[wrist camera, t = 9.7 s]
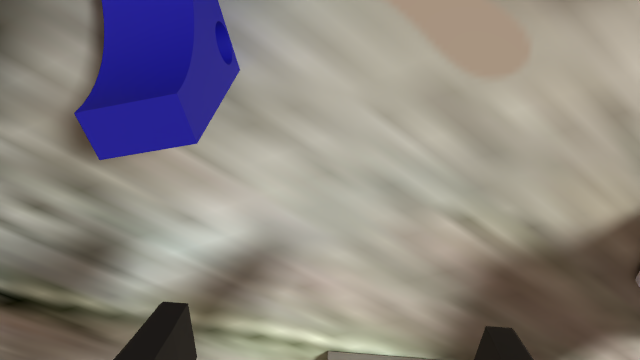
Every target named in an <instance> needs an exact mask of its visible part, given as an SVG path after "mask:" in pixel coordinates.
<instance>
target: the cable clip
mask: <svg viewBox="0 0 640 360" xmlns="http://www.w3.org/2000/svg"><path fill="white" fill-rule="evenodd" d="M102 5H103V15H104V50H103V57H102V63H101V67H100V71H99V74H98V77H97V80H96V83H95V85H94V87H93V89H92V91H91V93H90V95H89V96H88V98H87V99H86V100H85V102H84V103H83V104H82V106H81V107H80V108H79V109H78V110H77V111H76V112H75V113H74V114H75V116H76V118H77V119H78V121H79V123H80V125H81V127H82V129H83V130H84V132H85V134H86V136H87V138H88V140H89V142H90V143H91V145H92V147H93V149H94V151H95V153H96V154H97V156H98V158H99V160H103V159H109V158H115V157H121V156H127V155H133V154H138V153H144V152H150V151H156V150H162V149H168V148H174V147H179V146H185V145H191V144H197V143H198V141H199V139H200V138H201V136H202V134H203V132H204V131H205V129H206V127H207V126H208V124H209V122H210V120H211V119H212V117H213V115H214V114H215V112H216V110H217V108H218V107H219V105H220V103H221V102H222V100H223V98H224V96H225V95H226V93H227V91H228V90H229V88H230V86H231V84H232V83H233V81H234V79H235V78H236V76H237V74H238V72H239V71H240V69H239V66H238V62H237V59H236V56H235V53H234V50H233V47H232V44H231V40H230V37H229V34H228V31H227V28H226V25H225V22H224V19H223V15H222V12H221V9H220V6H219V3H218V0H102Z"/></svg>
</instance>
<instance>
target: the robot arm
mask: <svg viewBox="0 0 640 360" xmlns="http://www.w3.org/2000/svg"><path fill="white" fill-rule="evenodd" d="M636 283H637V284H638V286H639V287H640V271H639V273H638V275H637V277H636ZM196 358H197V354H196V348H195V342H194V336H193V331H192V325H191V319H190V313H189V307H188V304H186V303H173V302H162V303H161V304H160V305H159V306H158V307H157V308H156V310H155V311H154V312H153V313H152V315H151V316H150V317H149V318H148V319H147V321H146V322H145V323H144V324H143V326H142V327H141V328H140V329H139V330H138V332H137V333H136V334H135V335H134V336H133V338H132V339H131V340H130V341H129V342H128V343H127V345H126V346H125V347H124V348H123V349H122V350H121V352H120V353H119V354H118V355H117V356H116V357H115V358H114V359H113V360H196ZM474 360H534V359H533V358H532V356H531V355H530V354H529V352H528V351H527V349H526V348H525V346H524V345H523V343H522V342H521V340H520V339H519V337H518V336H517V334H516V333H515V331H514V330H513V329H512V328H502V327H489V326H486V327H485V330H484V333H483V336H482V339H481V342H480V344H479V347H478V350H477V353H476V356H475V359H474Z"/></svg>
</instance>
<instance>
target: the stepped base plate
mask: <svg viewBox="0 0 640 360" xmlns="http://www.w3.org/2000/svg"><path fill="white" fill-rule="evenodd" d="M327 360H433V359H420V358H408V357H395V356H382V355H370V354H357V353H344V352H331V351H328V359H327Z"/></svg>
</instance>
